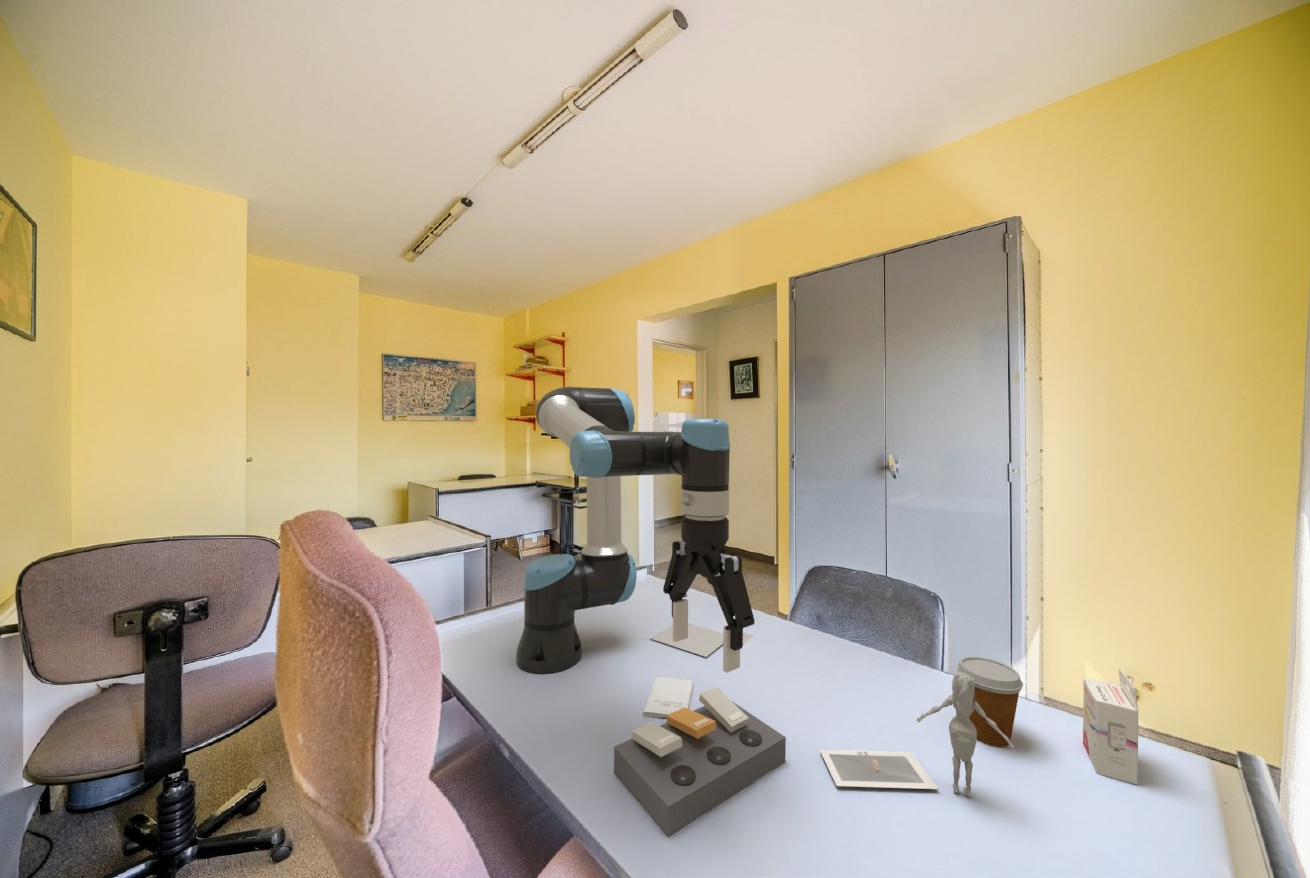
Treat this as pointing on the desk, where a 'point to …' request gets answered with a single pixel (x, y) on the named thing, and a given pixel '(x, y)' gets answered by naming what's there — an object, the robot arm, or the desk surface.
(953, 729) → the human figurine
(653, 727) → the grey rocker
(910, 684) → the desk surface
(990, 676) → the disposable coffee cup
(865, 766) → the white picture frame
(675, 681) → the external hard drive
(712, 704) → the block
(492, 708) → the desk surface
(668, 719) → the orange labeled box
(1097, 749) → the ink cartridge box
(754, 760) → the rocker switch box
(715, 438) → the robot arm
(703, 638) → the paper stack
